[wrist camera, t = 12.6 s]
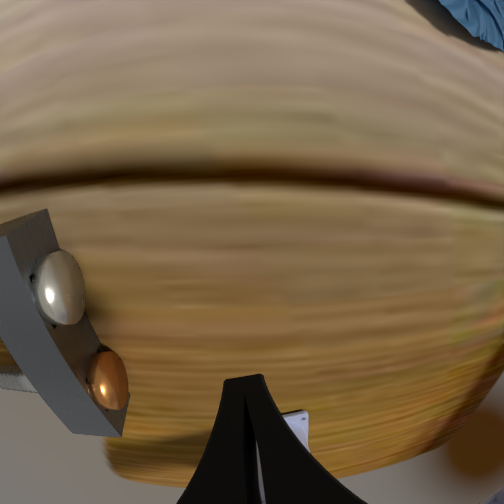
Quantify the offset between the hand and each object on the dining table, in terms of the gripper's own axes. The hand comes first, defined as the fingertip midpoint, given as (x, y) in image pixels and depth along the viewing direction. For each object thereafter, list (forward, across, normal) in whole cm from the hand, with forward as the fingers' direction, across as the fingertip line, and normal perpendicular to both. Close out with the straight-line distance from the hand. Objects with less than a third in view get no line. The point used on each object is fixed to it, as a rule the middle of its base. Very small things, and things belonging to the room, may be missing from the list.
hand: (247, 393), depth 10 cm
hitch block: (+9, +14, +2) cm, 16 cm away
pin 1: (+9, +16, -2) cm, 19 cm away
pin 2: (+9, +16, +6) cm, 20 cm away
